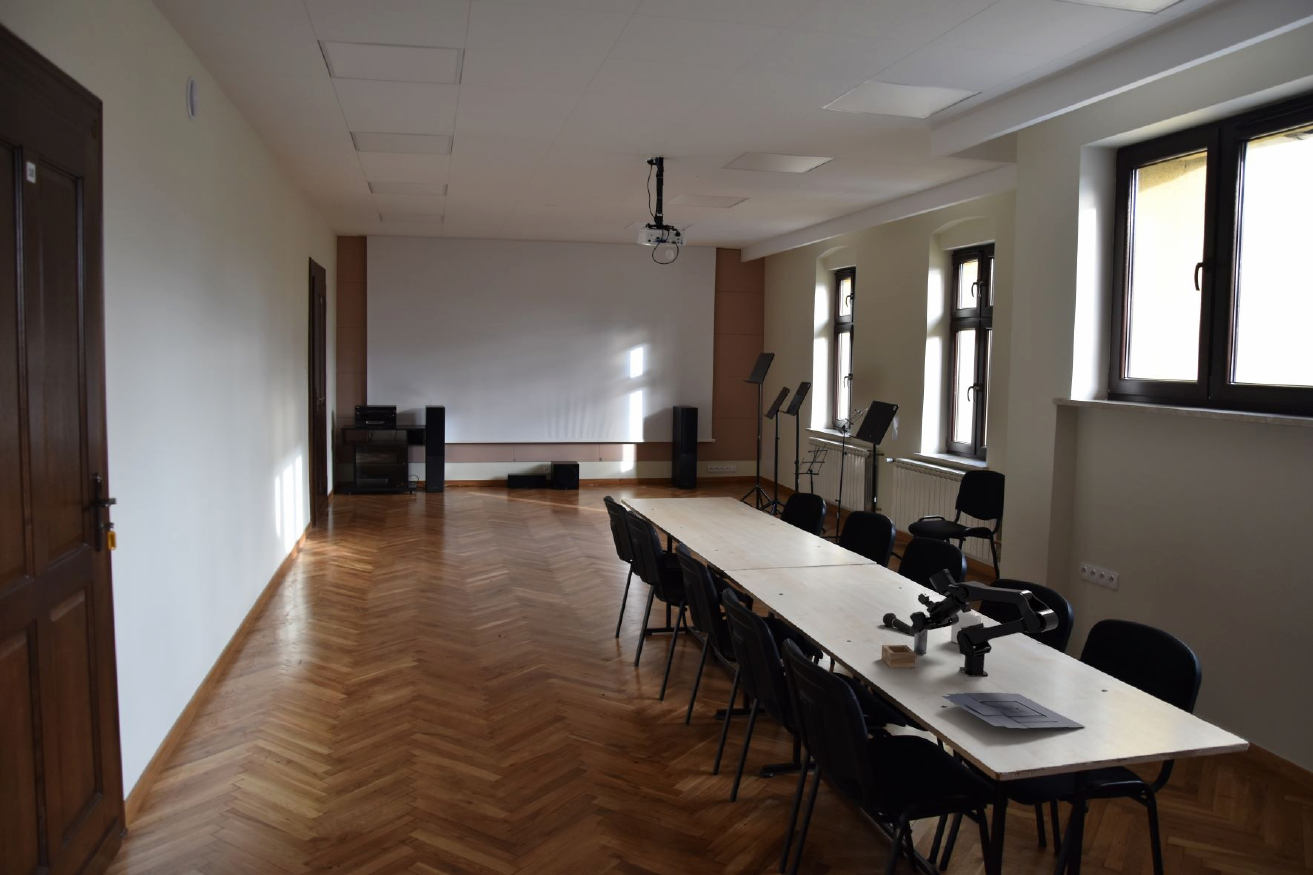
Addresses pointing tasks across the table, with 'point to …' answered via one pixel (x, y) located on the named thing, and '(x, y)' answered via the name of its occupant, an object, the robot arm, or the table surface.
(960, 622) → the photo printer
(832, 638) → the table surface
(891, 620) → the microphone
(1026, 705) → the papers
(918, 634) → the pin
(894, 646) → the socket block
